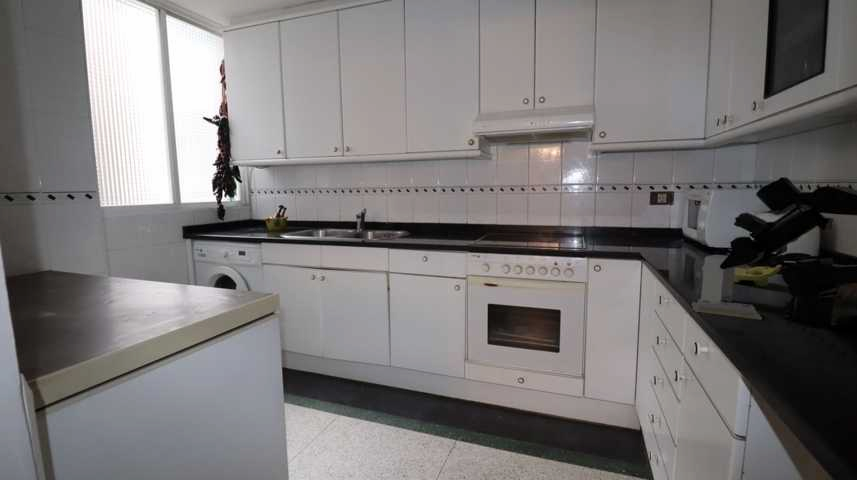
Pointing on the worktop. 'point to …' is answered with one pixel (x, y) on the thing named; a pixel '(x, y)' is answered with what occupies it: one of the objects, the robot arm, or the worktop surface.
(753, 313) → the rail
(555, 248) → the worktop surface
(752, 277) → the plastic component
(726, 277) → the block
